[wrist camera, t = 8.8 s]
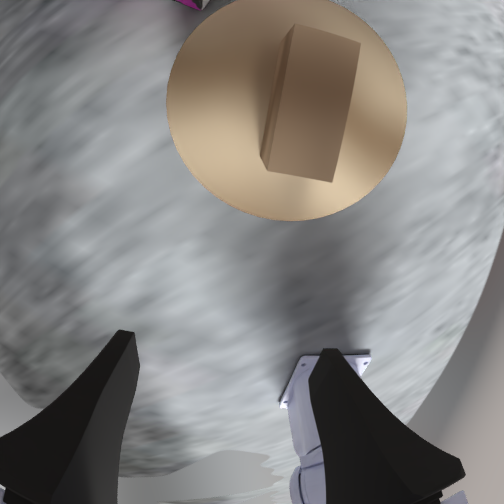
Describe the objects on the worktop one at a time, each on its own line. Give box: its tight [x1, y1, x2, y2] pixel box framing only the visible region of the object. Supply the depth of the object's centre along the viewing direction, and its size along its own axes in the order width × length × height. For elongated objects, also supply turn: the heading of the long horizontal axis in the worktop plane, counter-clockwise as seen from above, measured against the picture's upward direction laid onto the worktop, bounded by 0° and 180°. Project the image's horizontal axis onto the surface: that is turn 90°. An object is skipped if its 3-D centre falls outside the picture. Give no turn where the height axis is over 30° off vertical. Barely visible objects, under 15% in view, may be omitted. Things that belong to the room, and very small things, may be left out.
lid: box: [166, 0, 407, 221], centre depth 9 cm, size 10×10×4 cm
